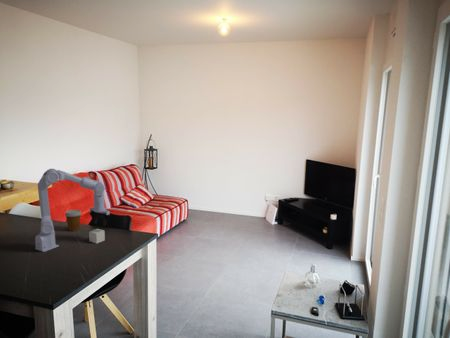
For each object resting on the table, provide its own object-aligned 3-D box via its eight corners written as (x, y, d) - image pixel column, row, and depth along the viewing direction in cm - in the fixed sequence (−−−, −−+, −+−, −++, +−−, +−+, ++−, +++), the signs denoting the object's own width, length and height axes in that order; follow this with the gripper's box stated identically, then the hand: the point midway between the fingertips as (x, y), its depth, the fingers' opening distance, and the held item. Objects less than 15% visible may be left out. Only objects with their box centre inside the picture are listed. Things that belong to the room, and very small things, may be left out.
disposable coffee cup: (78, 232, 217) (77, 214, 215) (63, 232, 217) (62, 213, 215) (84, 227, 226) (83, 209, 224) (70, 226, 226) (69, 209, 224)
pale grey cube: (96, 243, 200) (96, 233, 199) (89, 241, 203) (89, 231, 202) (104, 240, 206) (104, 230, 204) (97, 238, 208) (97, 228, 207)
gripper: (113, 202, 203) (114, 224, 205) (96, 198, 209) (96, 220, 212) (103, 205, 196) (104, 228, 199) (86, 201, 203) (87, 223, 206)
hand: (100, 224), depth 205 cm, fingers open, 7 cm apart
